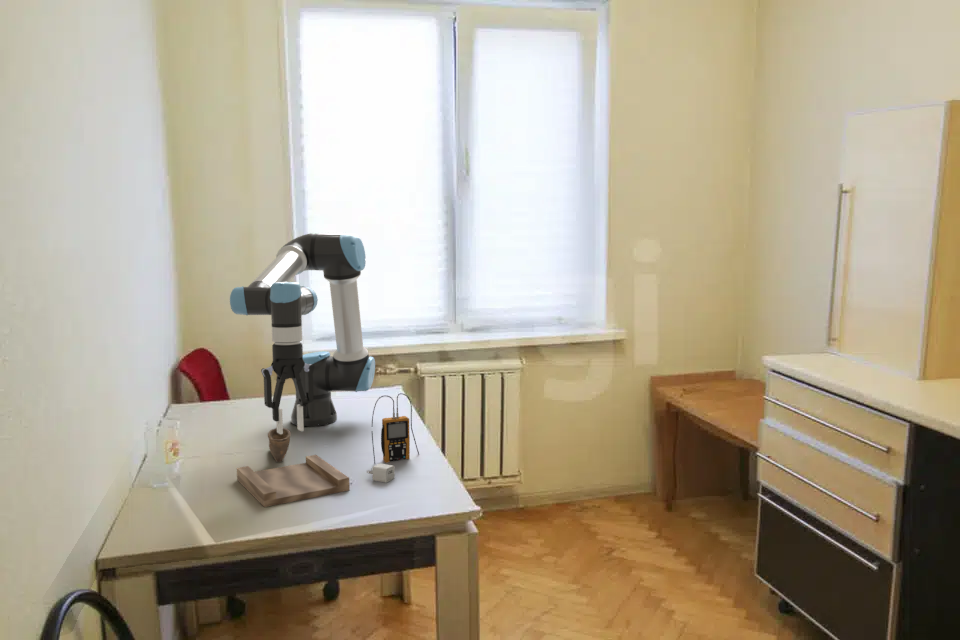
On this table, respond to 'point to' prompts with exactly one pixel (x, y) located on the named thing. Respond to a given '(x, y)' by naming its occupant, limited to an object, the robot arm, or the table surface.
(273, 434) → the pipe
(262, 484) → the block
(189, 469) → the table surface
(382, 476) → the usb wall charger
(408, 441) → the multimeter
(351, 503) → the table surface
